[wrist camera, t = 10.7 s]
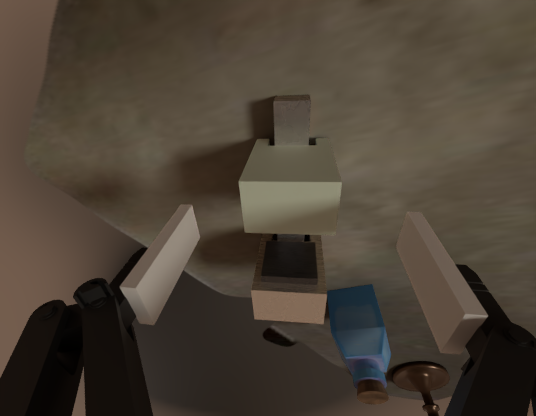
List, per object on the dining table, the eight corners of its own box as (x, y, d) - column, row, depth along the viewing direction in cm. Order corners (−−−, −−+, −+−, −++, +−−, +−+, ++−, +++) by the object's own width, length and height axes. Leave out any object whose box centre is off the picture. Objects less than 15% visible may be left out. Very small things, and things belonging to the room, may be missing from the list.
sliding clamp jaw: (257, 138, 25) (238, 181, 17) (328, 137, 24) (342, 182, 16) (260, 186, 28) (245, 240, 20) (324, 186, 27) (334, 243, 19)
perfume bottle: (372, 284, 35) (401, 382, 25) (378, 311, 38) (406, 409, 28) (326, 291, 36) (336, 385, 26) (336, 317, 39) (348, 410, 29)
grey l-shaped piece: (254, 96, 23) (231, 125, 15) (331, 94, 22) (349, 123, 14) (266, 268, 35) (256, 335, 27) (316, 271, 34) (321, 339, 26)
